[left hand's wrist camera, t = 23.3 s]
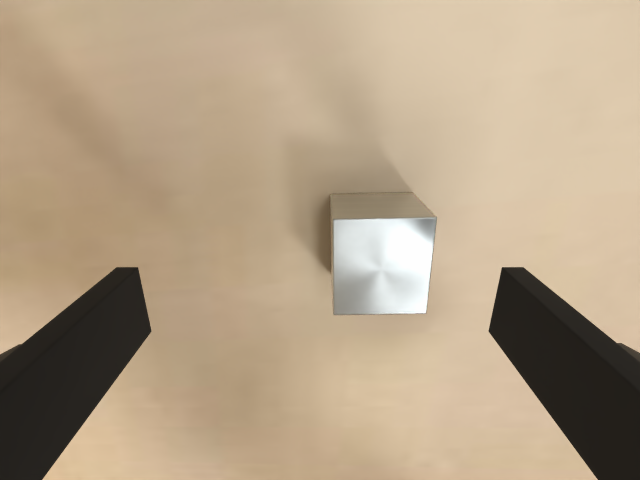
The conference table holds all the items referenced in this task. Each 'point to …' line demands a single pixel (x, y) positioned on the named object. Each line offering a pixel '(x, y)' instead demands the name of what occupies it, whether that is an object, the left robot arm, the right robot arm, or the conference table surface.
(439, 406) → the conference table surface
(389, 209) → the block
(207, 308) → the conference table surface
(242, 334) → the conference table surface
